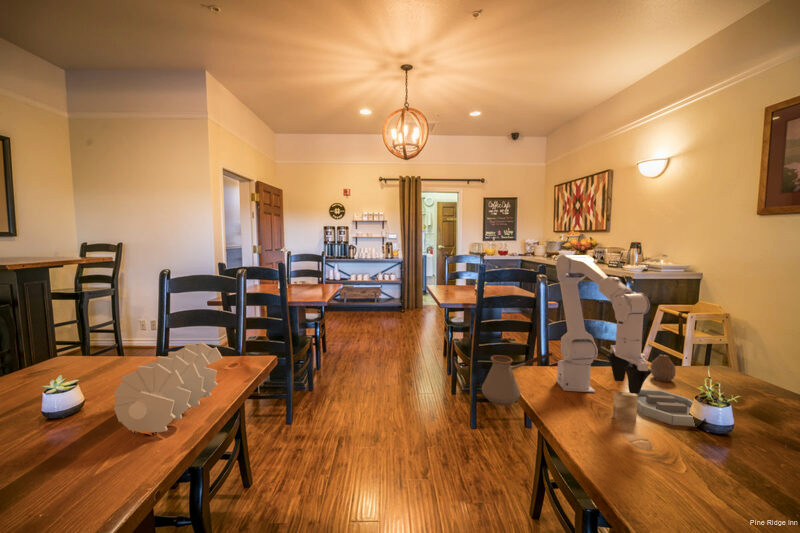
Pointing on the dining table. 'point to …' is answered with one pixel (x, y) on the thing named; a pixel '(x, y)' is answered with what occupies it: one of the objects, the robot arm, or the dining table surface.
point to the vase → (663, 368)
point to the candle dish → (661, 414)
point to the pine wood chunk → (625, 406)
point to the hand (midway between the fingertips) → (626, 386)
